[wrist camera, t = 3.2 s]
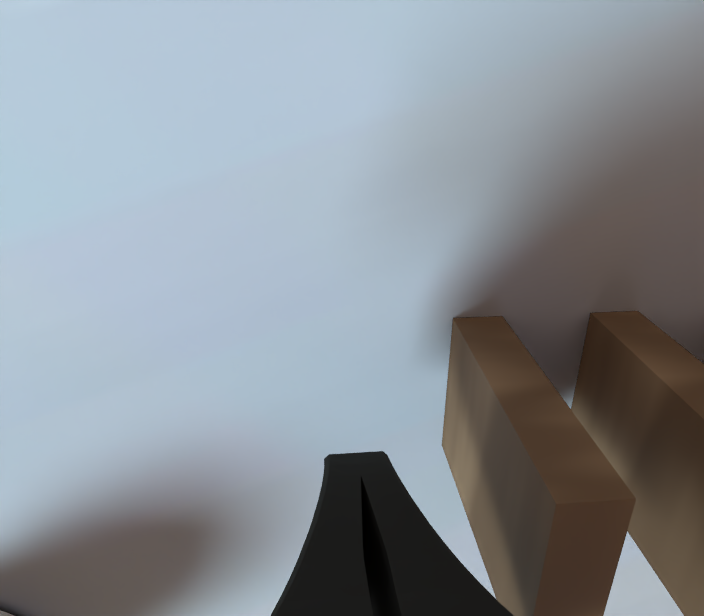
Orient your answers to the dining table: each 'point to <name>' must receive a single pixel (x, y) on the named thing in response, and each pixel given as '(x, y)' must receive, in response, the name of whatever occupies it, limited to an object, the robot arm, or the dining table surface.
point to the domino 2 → (650, 440)
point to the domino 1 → (530, 478)
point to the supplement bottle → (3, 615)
